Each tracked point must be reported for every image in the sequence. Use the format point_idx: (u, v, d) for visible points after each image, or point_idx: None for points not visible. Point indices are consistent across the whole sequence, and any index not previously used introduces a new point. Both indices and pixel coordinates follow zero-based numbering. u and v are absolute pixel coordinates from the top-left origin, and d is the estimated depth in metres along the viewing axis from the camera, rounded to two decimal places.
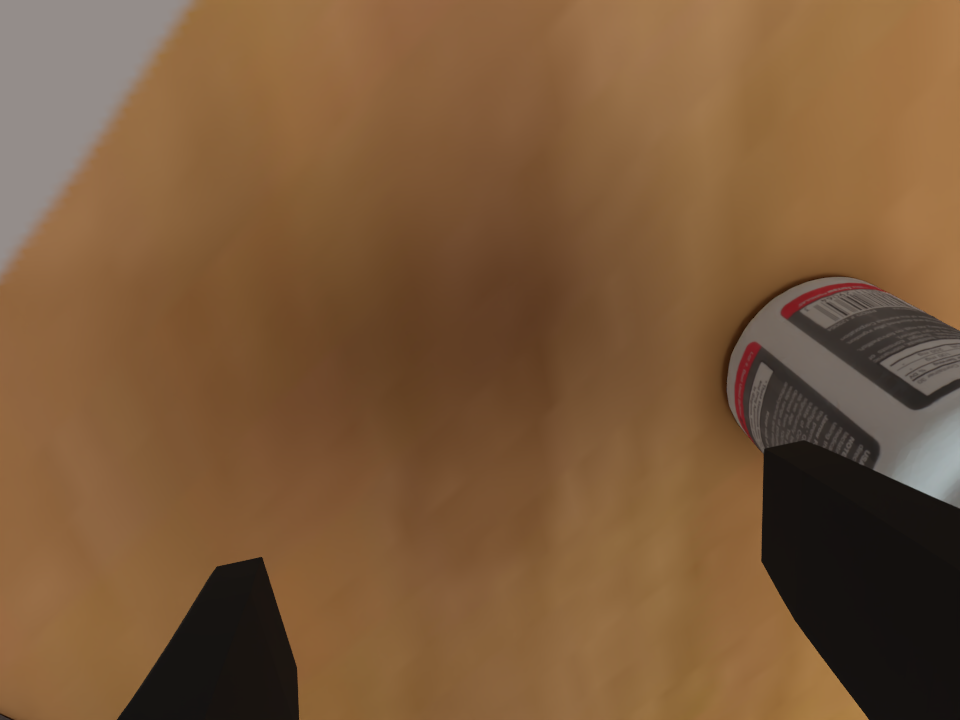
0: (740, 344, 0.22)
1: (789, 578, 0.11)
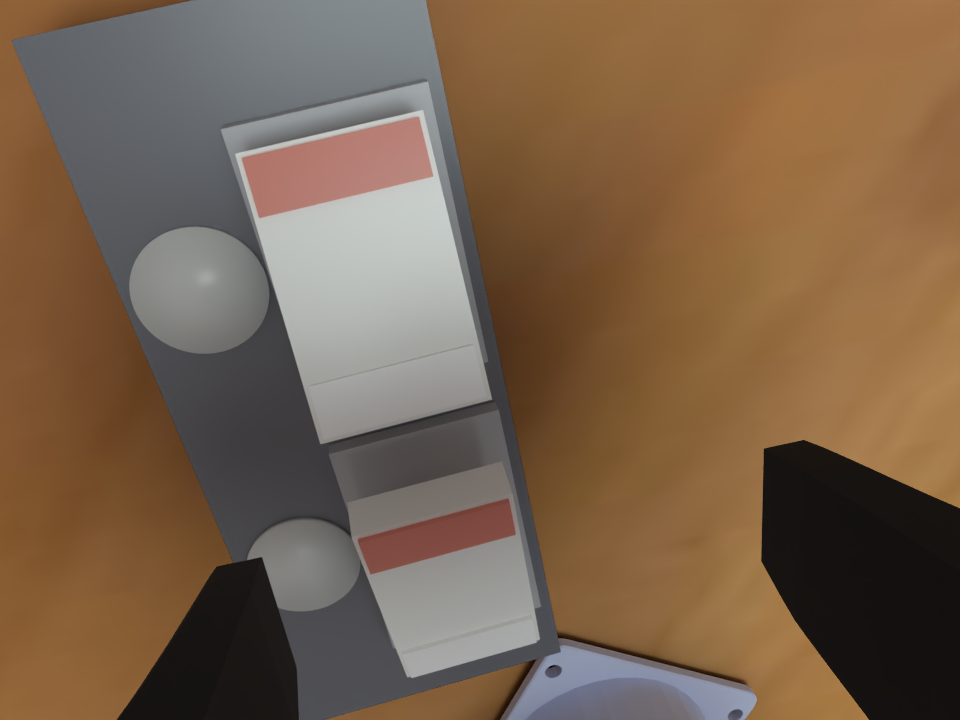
0: None
1: (789, 578, 0.11)
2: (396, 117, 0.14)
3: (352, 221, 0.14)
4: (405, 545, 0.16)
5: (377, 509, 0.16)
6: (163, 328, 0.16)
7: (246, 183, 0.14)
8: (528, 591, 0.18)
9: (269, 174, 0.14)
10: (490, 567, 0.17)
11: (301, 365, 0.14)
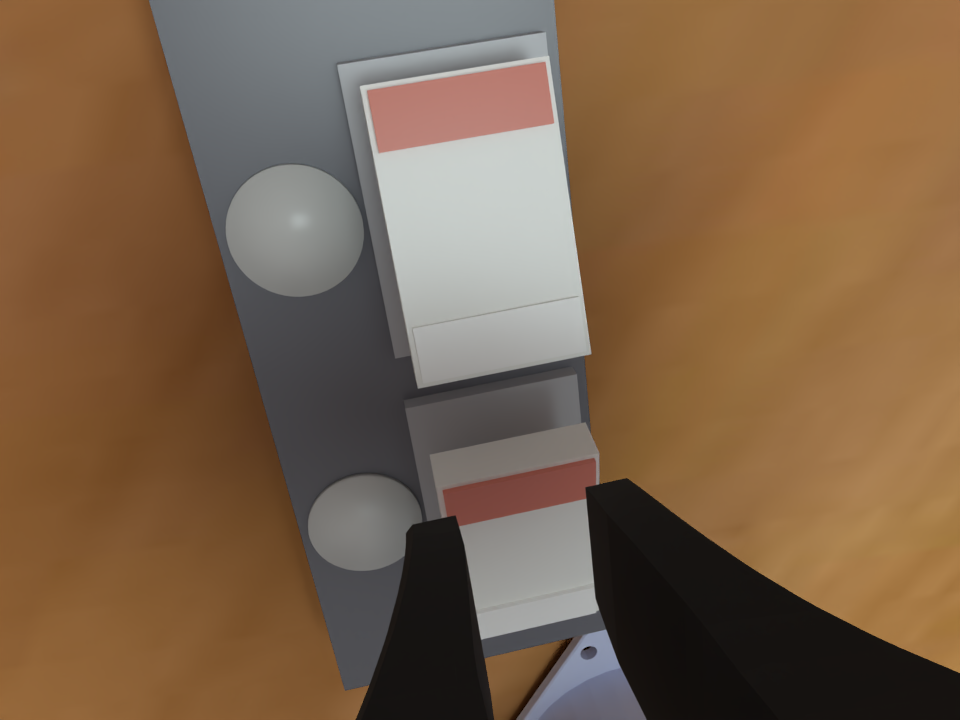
0: None
1: (611, 620, 0.11)
2: (522, 61, 0.14)
3: (469, 163, 0.14)
4: (488, 499, 0.16)
5: (461, 462, 0.16)
6: (254, 267, 0.16)
7: (368, 117, 0.13)
8: None
9: (392, 108, 0.13)
10: (564, 529, 0.17)
11: (406, 306, 0.14)
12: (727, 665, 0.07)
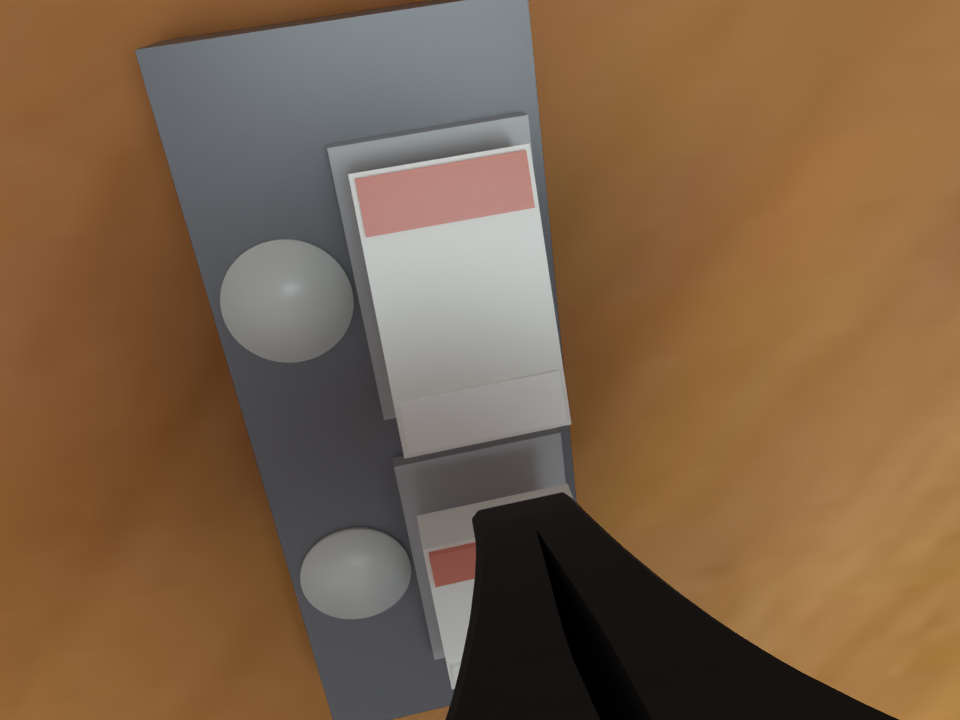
0: None
1: None
2: (504, 149, 0.14)
3: (453, 245, 0.14)
4: (473, 560, 0.16)
5: (447, 524, 0.16)
6: (248, 335, 0.16)
7: (356, 203, 0.14)
8: None
9: (379, 196, 0.14)
10: None
11: (393, 381, 0.15)
12: (631, 689, 0.07)
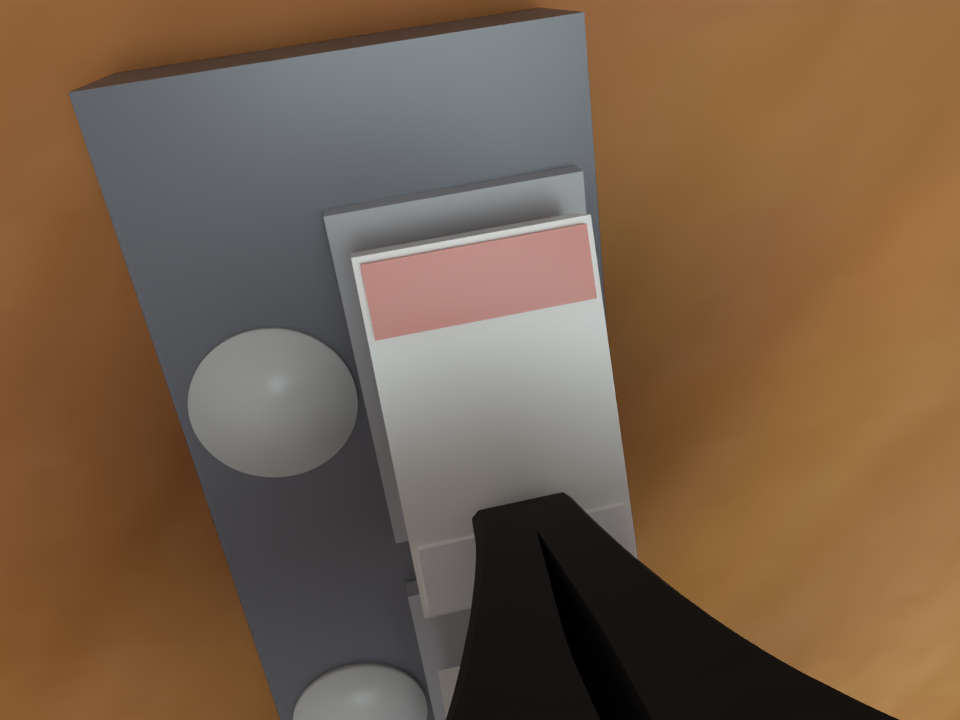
0: None
1: None
2: (557, 222, 0.11)
3: (490, 348, 0.11)
4: None
5: None
6: (224, 446, 0.13)
7: (362, 295, 0.11)
8: None
9: (393, 287, 0.11)
10: None
11: (410, 522, 0.11)
12: (630, 689, 0.07)
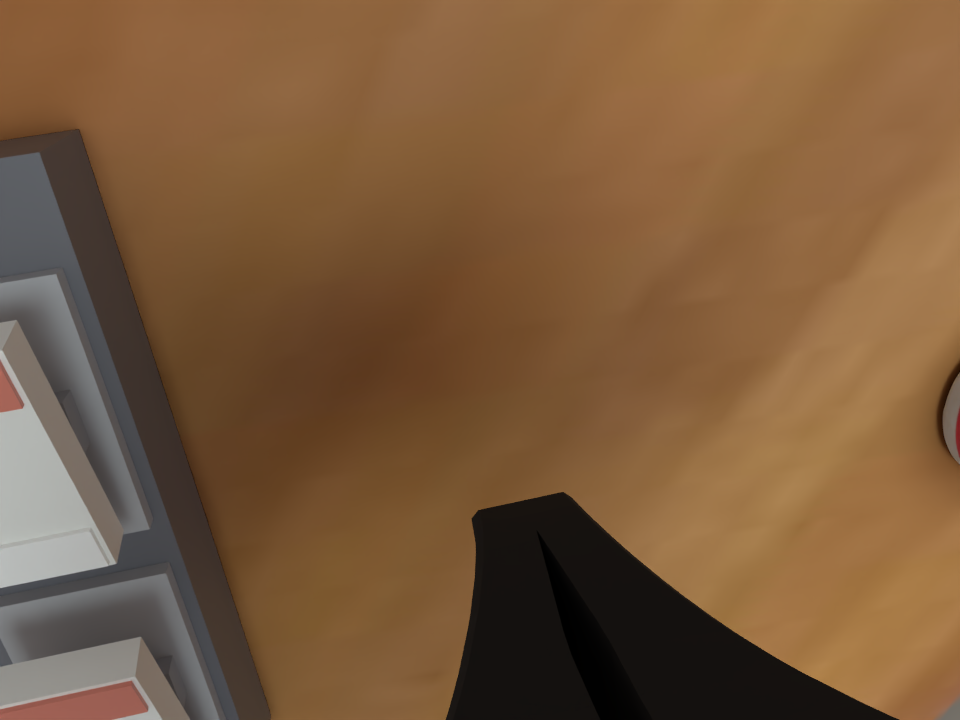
0: None
1: None
2: None
3: None
4: None
5: (1, 683, 0.16)
6: None
7: None
8: None
9: None
10: None
11: None
12: (632, 690, 0.07)
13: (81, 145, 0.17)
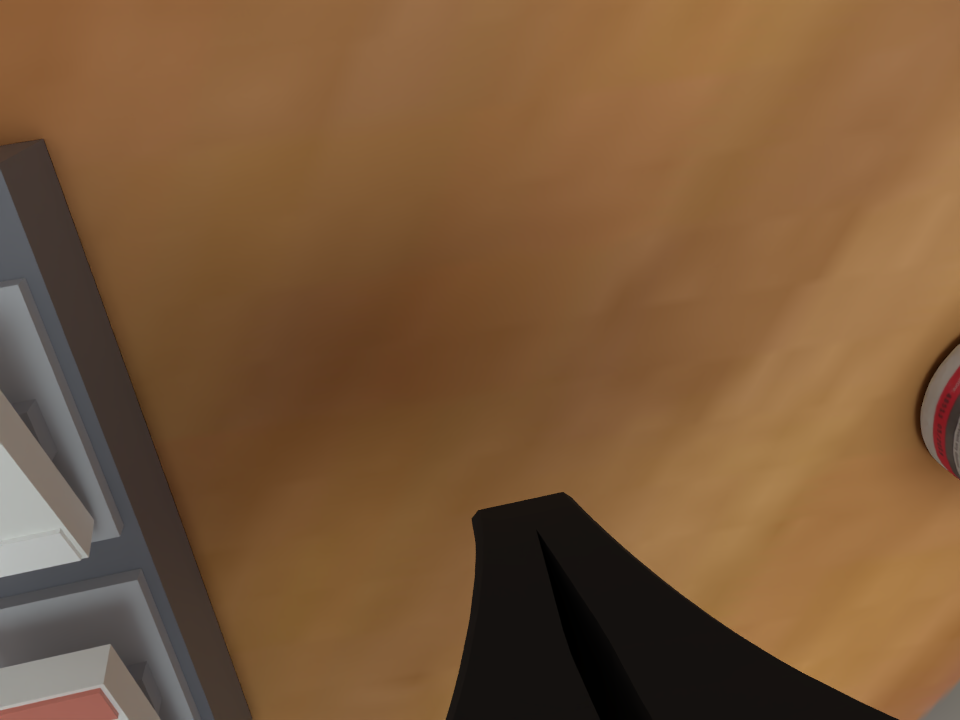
0: None
1: None
2: None
3: None
4: None
5: None
6: None
7: None
8: None
9: None
10: None
11: None
12: (631, 689, 0.07)
13: (46, 155, 0.17)
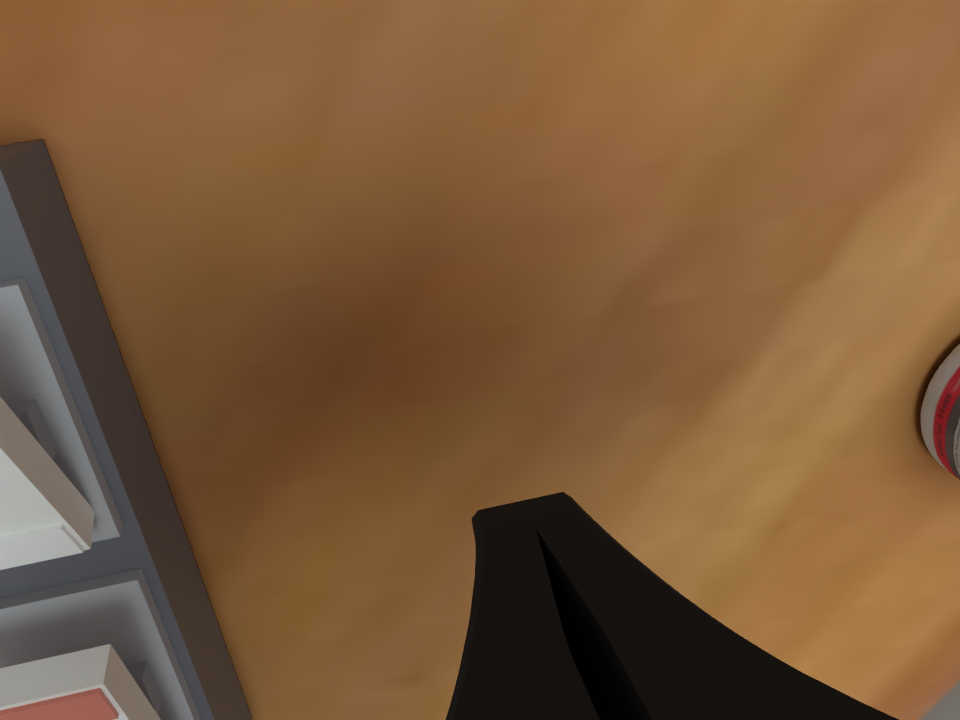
0: None
1: None
2: None
3: None
4: None
5: None
6: None
7: None
8: None
9: None
10: None
11: None
12: (631, 689, 0.07)
13: (46, 155, 0.17)
